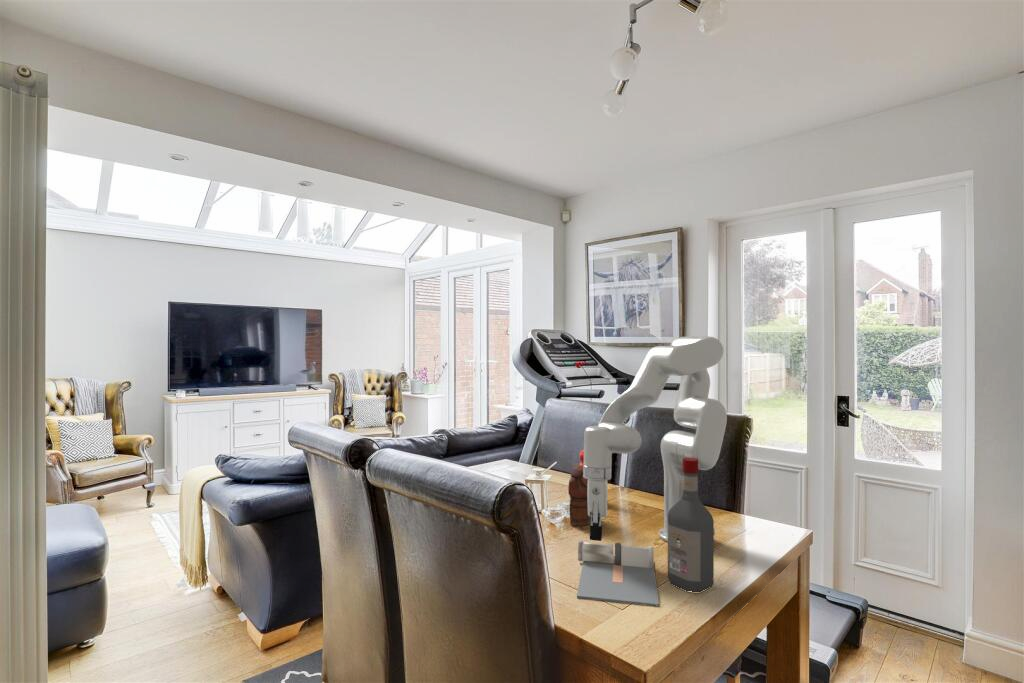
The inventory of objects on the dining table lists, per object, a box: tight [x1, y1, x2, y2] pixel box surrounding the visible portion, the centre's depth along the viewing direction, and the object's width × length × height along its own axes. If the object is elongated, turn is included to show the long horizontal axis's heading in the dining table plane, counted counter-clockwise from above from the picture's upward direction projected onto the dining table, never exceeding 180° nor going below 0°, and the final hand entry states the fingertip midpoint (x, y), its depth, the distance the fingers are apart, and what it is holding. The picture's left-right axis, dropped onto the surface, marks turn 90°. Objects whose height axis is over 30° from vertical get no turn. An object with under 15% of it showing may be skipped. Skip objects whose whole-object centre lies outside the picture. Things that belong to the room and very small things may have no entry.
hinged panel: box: [577, 540, 614, 563], centre depth 136 cm, size 9×1×5 cm, turn 78°
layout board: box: [576, 542, 660, 607], centre depth 128 cm, size 18×24×6 cm
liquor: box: [667, 458, 715, 593], centre depth 125 cm, size 9×9×30 cm
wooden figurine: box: [567, 464, 591, 527], centre depth 168 cm, size 12×6×18 cm, turn 157°
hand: (595, 539), depth 141 cm, fingers closed
